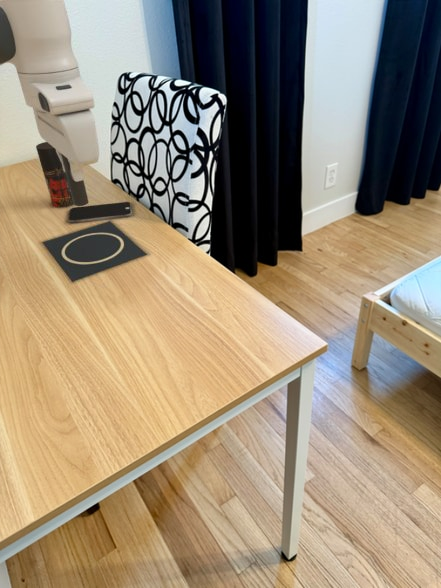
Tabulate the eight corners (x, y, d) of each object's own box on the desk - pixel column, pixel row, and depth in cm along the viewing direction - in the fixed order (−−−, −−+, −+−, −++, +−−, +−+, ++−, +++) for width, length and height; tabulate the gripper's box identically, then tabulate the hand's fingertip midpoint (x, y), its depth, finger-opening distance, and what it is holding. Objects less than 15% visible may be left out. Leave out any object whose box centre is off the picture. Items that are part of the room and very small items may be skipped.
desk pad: (72, 282, 82) (72, 280, 82) (42, 243, 95) (42, 241, 94) (147, 255, 89) (147, 253, 89) (110, 222, 102) (109, 220, 102)
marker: (76, 207, 76) (57, 132, 68) (71, 202, 78) (52, 128, 70) (91, 203, 77) (73, 129, 69) (85, 198, 79) (68, 125, 71)
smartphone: (131, 214, 103) (67, 221, 101) (132, 217, 104) (68, 224, 101) (130, 201, 109) (70, 207, 107) (131, 203, 110) (70, 210, 107)
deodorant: (47, 204, 111) (30, 146, 102) (66, 196, 115) (51, 139, 106) (62, 210, 108) (46, 150, 99) (81, 201, 112) (67, 143, 103)
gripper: (15, 82, 71) (38, 164, 80) (53, 105, 58) (77, 200, 66) (52, 77, 74) (71, 156, 83) (97, 97, 61) (115, 189, 69)
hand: (74, 176), depth 74 cm, fingers closed on marker, 2 cm apart
